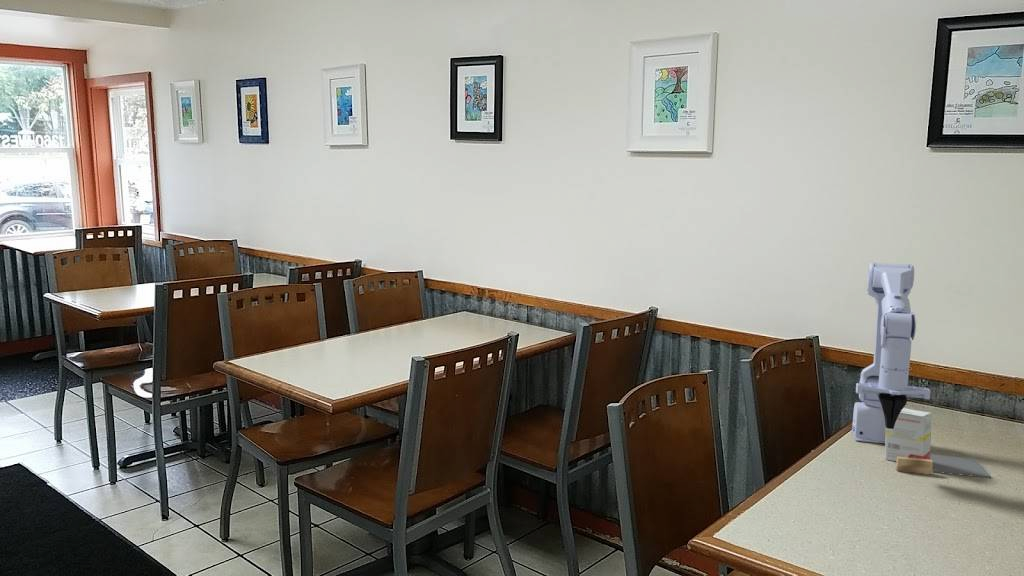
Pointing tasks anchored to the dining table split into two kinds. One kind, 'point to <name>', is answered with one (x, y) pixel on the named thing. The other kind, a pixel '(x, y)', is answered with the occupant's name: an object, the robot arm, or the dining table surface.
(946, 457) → the rubber mat
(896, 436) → the ink box
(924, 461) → the rail bay
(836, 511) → the dining table surface
